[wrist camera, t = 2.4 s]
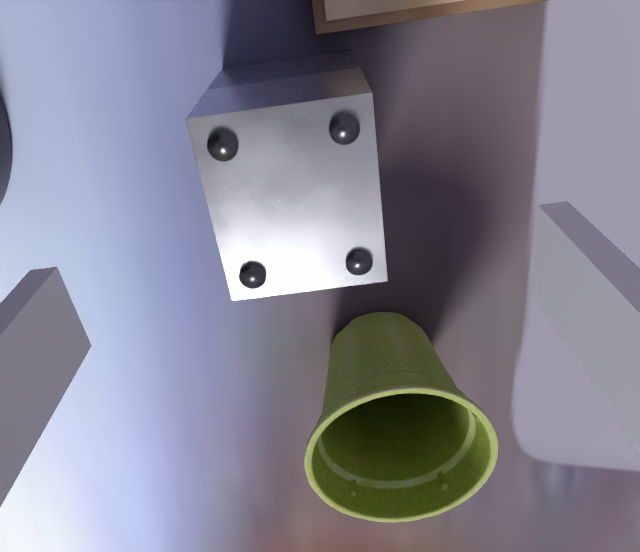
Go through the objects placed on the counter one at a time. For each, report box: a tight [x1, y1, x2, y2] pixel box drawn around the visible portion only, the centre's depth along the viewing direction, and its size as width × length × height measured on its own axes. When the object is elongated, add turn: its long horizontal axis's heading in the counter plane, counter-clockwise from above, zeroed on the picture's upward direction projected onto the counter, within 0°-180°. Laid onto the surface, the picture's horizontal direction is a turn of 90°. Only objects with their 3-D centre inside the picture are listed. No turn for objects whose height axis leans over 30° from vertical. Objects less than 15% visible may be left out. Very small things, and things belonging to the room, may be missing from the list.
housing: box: [185, 50, 388, 301], centre depth 23 cm, size 6×7×9 cm
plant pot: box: [305, 312, 498, 522], centre depth 30 cm, size 9×9×9 cm
